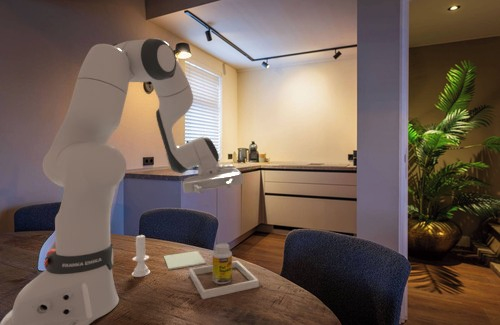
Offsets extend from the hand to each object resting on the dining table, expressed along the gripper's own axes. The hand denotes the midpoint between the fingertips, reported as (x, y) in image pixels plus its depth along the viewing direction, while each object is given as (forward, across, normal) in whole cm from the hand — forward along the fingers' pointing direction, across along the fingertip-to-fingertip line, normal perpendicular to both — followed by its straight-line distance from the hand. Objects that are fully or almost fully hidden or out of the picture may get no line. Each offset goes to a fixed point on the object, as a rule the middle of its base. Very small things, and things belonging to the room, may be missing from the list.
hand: (214, 188), depth 88 cm
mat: (-3, -14, +25) cm, 28 cm away
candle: (+4, -26, +22) cm, 34 cm away
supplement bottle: (+15, -2, +23) cm, 27 cm away
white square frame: (+15, -2, +23) cm, 27 cm away
